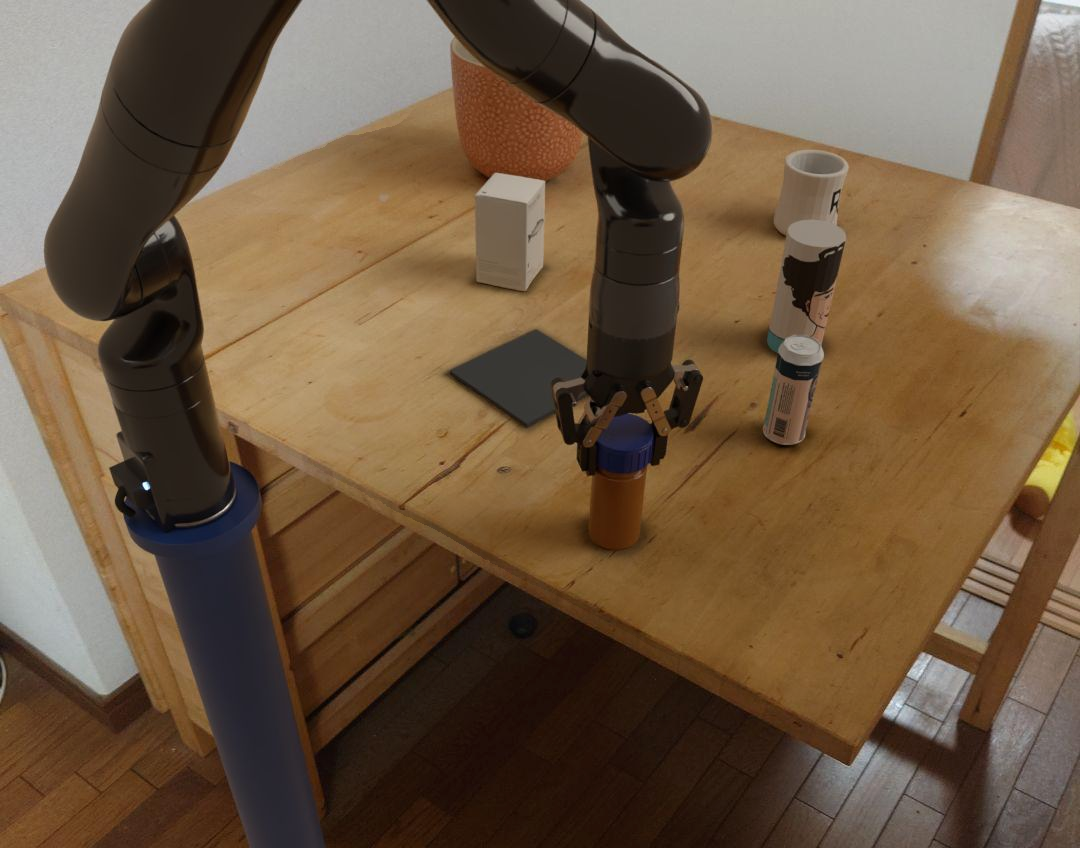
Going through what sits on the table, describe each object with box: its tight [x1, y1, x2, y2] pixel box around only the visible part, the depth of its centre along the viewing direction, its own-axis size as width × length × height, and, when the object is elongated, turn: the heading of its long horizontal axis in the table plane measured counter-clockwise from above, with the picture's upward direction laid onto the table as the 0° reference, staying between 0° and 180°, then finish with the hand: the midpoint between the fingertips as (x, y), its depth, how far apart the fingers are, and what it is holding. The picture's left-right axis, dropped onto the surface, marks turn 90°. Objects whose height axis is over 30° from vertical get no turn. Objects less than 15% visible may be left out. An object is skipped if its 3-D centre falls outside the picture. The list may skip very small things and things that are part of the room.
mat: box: [449, 328, 588, 428], centre depth 128 cm, size 14×14×1 cm
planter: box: [449, 36, 584, 182], centre depth 163 cm, size 21×21×19 cm
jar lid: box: [595, 413, 654, 474], centre depth 101 cm, size 6×6×3 cm
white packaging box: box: [474, 173, 546, 292], centre depth 141 cm, size 7×7×13 cm
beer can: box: [762, 335, 825, 446], centre depth 116 cm, size 5×5×12 cm
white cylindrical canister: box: [766, 220, 847, 354], centre depth 129 cm, size 7×7×15 cm
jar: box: [587, 465, 648, 551], centre depth 104 cm, size 5×5×12 cm
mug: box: [773, 149, 850, 237], centre depth 154 cm, size 12×9×10 cm
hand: (620, 465), depth 102 cm, fingers closed on jar lid, 5 cm apart
